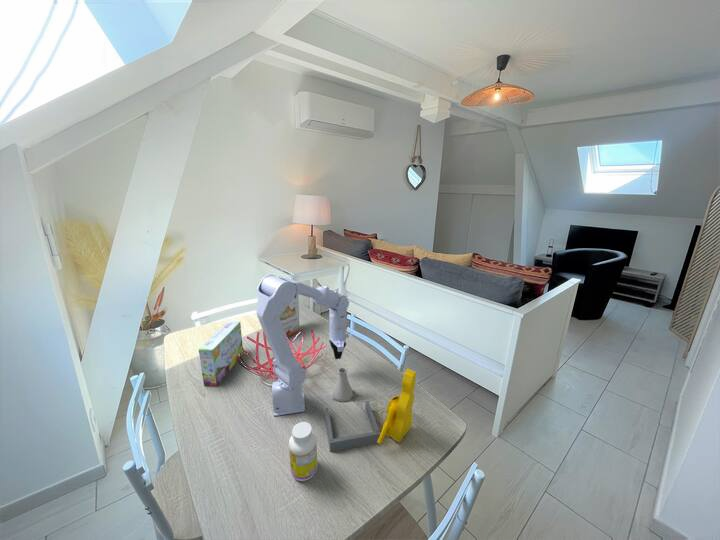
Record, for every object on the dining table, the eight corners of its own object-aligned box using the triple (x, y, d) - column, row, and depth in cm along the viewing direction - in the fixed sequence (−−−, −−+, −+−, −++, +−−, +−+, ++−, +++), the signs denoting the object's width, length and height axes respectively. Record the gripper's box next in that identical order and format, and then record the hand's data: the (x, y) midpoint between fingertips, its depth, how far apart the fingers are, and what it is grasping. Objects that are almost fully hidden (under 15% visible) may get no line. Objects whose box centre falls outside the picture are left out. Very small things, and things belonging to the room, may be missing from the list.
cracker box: (276, 343, 127) (273, 300, 121) (268, 338, 131) (264, 296, 124) (300, 331, 138) (298, 291, 132) (292, 327, 141) (290, 288, 135)
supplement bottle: (292, 458, 74) (290, 418, 70) (318, 456, 75) (316, 417, 71) (288, 483, 68) (285, 442, 64) (316, 481, 68) (315, 440, 65)
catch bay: (330, 451, 76) (329, 443, 75) (324, 416, 88) (324, 408, 87) (379, 441, 79) (380, 433, 78) (368, 408, 91) (368, 401, 90)
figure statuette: (399, 408, 91) (403, 348, 85) (422, 418, 87) (428, 357, 81) (370, 449, 77) (373, 381, 71) (396, 464, 73) (401, 394, 67)
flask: (350, 404, 93) (350, 378, 90) (329, 400, 94) (329, 375, 91) (355, 389, 99) (355, 365, 97) (335, 386, 101) (335, 362, 98)
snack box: (218, 386, 99) (213, 349, 95) (203, 386, 100) (196, 349, 95) (244, 352, 120) (240, 320, 115) (231, 352, 120) (227, 320, 116)
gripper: (352, 334, 95) (352, 368, 99) (344, 315, 108) (344, 346, 112) (331, 336, 93) (332, 371, 97) (326, 316, 107) (327, 348, 111)
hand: (337, 357), depth 105 cm, fingers closed
